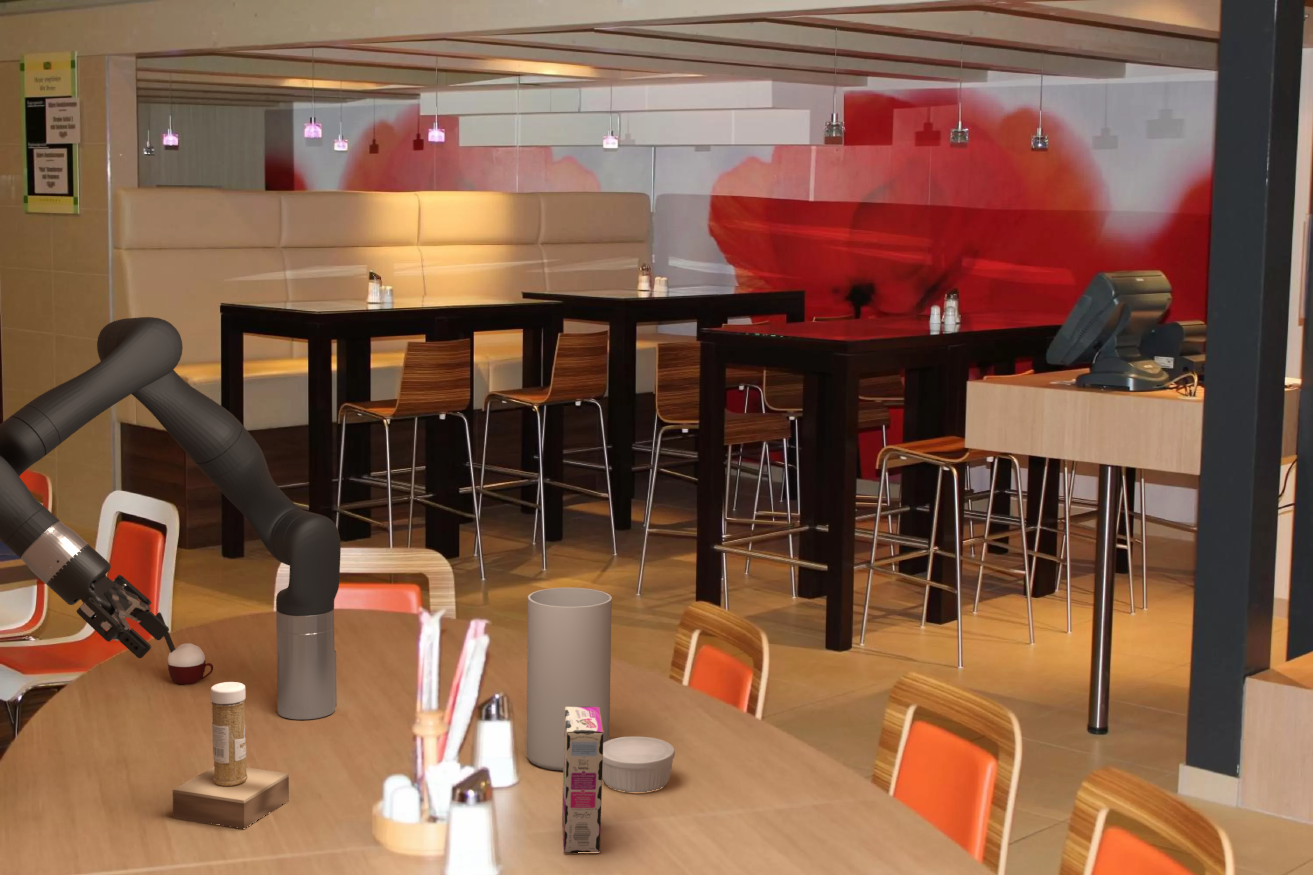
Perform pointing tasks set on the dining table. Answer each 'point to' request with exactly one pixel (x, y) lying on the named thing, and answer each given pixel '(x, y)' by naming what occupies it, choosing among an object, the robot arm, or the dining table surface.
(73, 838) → the dining table surface
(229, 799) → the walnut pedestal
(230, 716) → the spice jar
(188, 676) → the cocoa
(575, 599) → the cylinder vase
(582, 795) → the candy bar box
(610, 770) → the ramekin
